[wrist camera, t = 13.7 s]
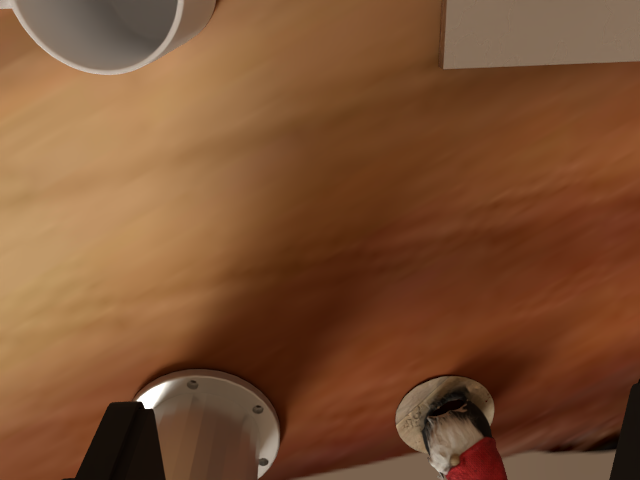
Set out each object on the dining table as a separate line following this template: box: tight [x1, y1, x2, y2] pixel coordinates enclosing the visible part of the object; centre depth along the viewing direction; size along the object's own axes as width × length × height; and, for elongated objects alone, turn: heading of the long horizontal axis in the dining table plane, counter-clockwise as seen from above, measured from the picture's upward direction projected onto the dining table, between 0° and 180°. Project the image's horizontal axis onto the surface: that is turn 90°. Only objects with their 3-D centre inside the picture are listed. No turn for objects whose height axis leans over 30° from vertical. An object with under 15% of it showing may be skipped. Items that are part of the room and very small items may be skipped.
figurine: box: [396, 376, 507, 480], centre depth 43 cm, size 8×10×12 cm
